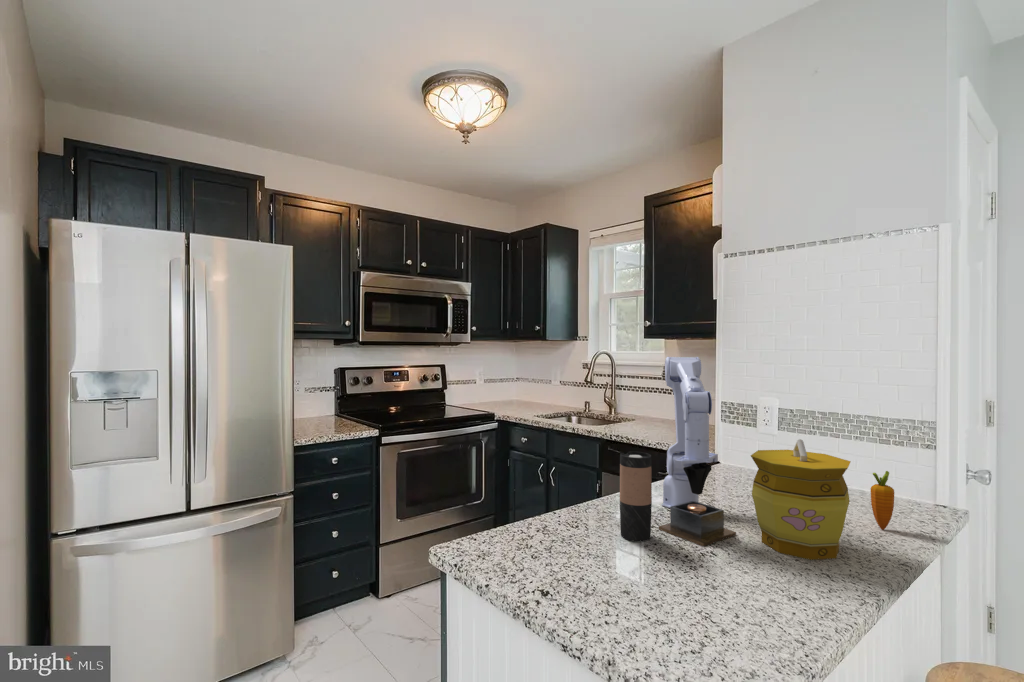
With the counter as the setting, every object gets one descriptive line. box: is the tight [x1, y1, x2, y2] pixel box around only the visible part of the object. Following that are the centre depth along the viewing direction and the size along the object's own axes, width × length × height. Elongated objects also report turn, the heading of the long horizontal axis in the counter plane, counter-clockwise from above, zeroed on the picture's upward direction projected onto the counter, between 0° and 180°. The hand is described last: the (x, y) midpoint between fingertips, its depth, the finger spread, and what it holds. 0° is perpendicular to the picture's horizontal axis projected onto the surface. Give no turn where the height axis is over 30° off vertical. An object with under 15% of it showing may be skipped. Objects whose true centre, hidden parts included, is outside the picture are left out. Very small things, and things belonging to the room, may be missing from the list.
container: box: [750, 438, 851, 561], centre depth 117 cm, size 21×21×25 cm
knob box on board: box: [658, 501, 737, 547], centre depth 125 cm, size 13×13×6 cm
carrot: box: [870, 470, 895, 531], centre depth 128 cm, size 5×5×15 cm
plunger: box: [688, 504, 706, 515], centre depth 125 cm, size 7×7×5 cm
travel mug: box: [619, 451, 653, 543], centre depth 123 cm, size 8×8×20 cm
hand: (696, 493), depth 125 cm, fingers closed
